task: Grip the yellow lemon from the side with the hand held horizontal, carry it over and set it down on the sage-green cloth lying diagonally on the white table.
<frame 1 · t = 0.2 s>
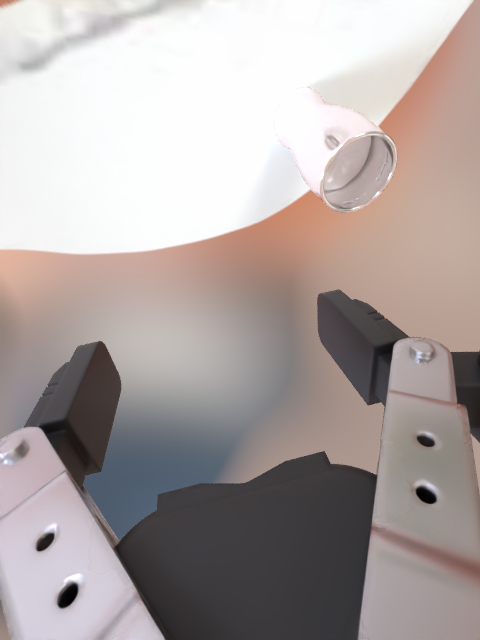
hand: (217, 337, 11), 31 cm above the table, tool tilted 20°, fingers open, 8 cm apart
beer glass: (298, 119, 34), on the table
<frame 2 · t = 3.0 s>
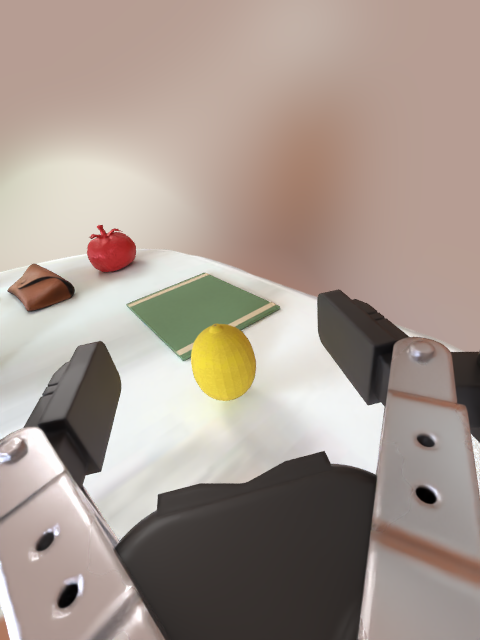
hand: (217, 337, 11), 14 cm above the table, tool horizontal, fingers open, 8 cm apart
cloth: (196, 307, 44), on the table
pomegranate: (117, 267, 67), on the table
lemon: (231, 397, 28), on the table
sunglasses case: (41, 294, 59), on the table
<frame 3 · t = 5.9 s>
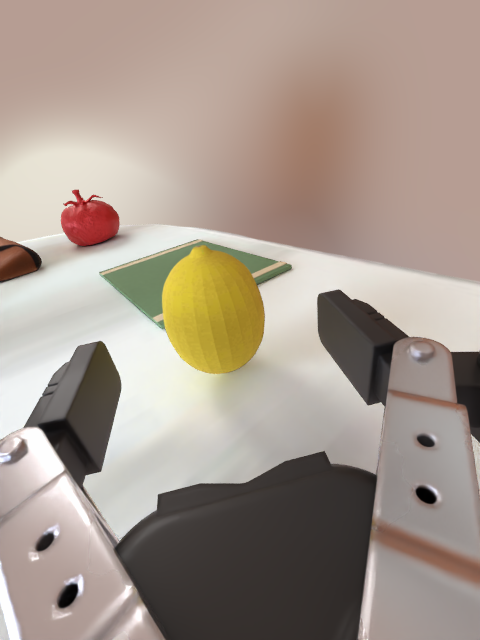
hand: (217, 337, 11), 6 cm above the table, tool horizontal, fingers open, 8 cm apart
cloth: (185, 272, 35), on the table
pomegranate: (98, 241, 58), on the table
lemon: (227, 372, 19), on the table
sunglasses case: (4, 269, 50), on the table
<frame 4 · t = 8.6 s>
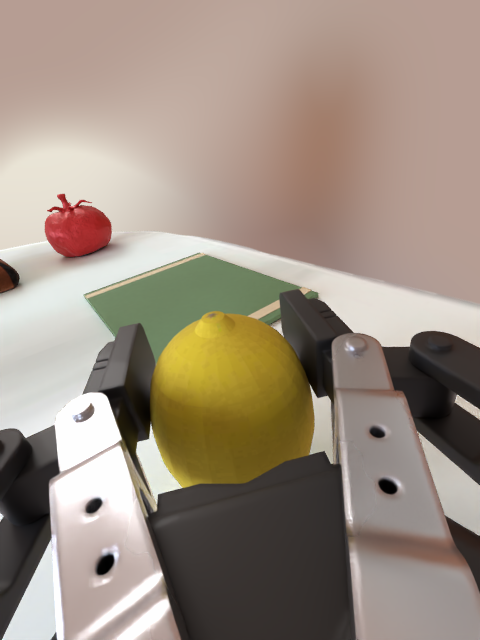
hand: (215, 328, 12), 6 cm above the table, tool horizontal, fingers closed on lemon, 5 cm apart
cloth: (186, 297, 29), on the table
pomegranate: (88, 251, 51), on the table
lemon: (249, 479, 13), on the table, touching gripper
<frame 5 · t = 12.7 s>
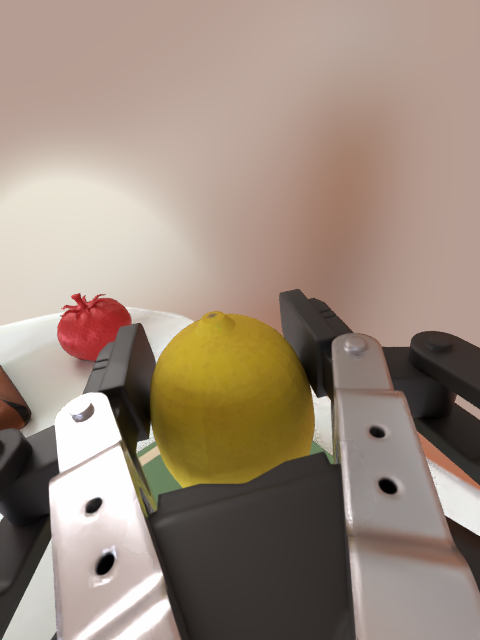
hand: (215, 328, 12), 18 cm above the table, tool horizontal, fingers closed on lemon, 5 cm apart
cloth: (246, 499, 23), on the table
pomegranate: (105, 347, 45), on the table
lemon: (249, 480, 13), point 12 cm above the table, touching gripper
when the fingers open (6 cm above the table, at t = 16.9 s): lemon stays where it is, resting on cloth.
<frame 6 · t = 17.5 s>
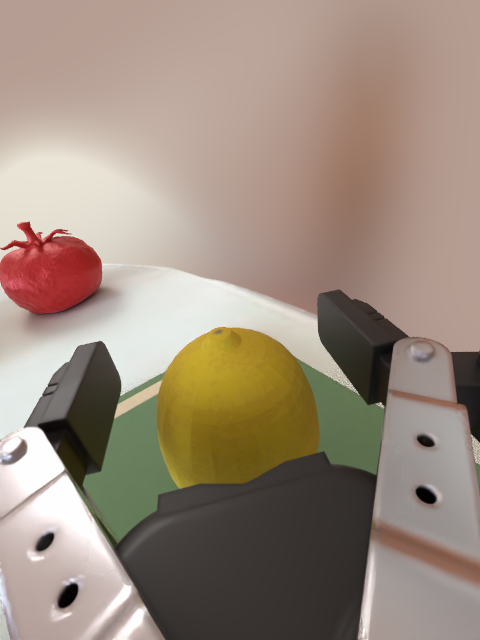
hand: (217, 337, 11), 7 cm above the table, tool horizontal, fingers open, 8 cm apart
cloth: (251, 489, 13), on the table
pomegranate: (68, 301, 35), on the table
lemon: (253, 489, 13), resting on cloth
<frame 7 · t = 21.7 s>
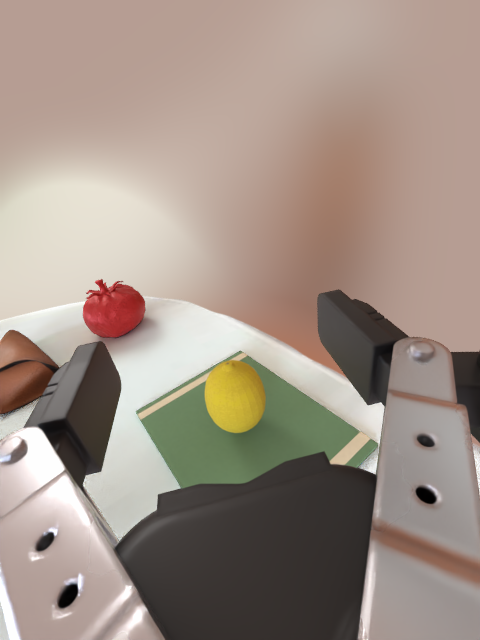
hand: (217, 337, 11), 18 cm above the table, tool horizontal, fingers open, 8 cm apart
cloth: (241, 428, 30), on the table
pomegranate: (122, 328, 52), on the table
lemon: (242, 427, 30), resting on cloth
sunglasses case: (18, 376, 44), on the table
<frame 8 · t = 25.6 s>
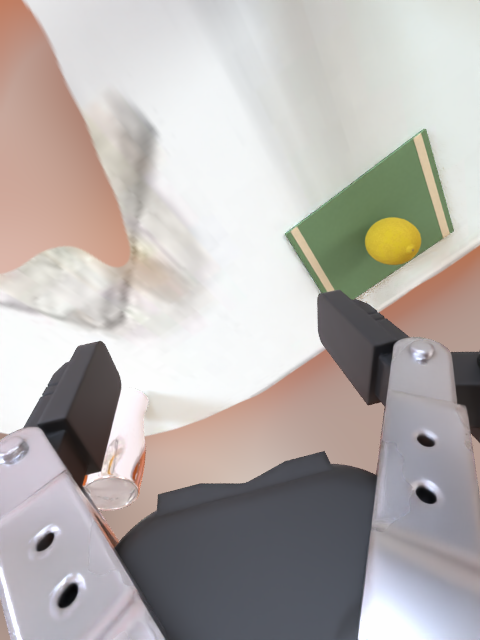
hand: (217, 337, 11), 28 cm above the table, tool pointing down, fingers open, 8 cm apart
cloth: (372, 232, 41), on the table
lemon: (372, 233, 40), resting on cloth
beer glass: (129, 401, 48), on the table
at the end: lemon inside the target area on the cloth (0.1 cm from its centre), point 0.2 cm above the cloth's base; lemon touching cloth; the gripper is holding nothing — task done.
